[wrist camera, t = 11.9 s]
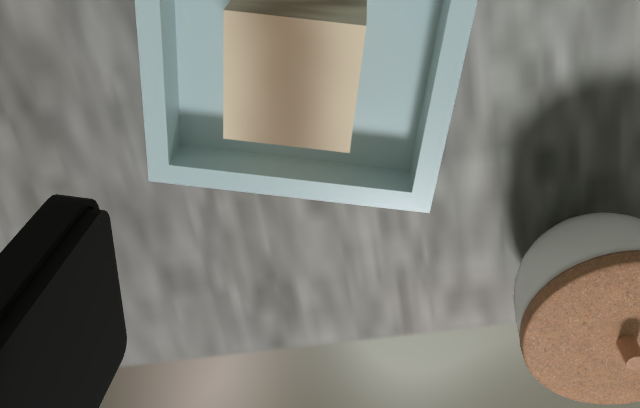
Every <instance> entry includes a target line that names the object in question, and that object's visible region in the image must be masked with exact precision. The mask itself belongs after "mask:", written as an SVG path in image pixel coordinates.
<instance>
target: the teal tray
mask: <svg viewBox="0 0 640 408" xmlns="http://www.w3.org/2000/svg"><path fill="white" fill-rule="evenodd" d="M230 1H231V0H135V10H136V23H137V35H138V48H139V61H140V74H141V87H142V100H143V112H144V125H145V138H146V151H147V164H148V177H149V181H153V182H161V183H170V184H179V185H188V186H196V187H205V188H214V189H223V190H232V191H240V192H249V193H258V194H267V195H275V196H284V197H293V198H302V199H311V200H319V201H328V202H337V203H346V204H354V205H363V206H372V207H381V208H390V209H398V210H407V211H416V212H425V213H430V208H431V204H432V200H433V195H434V191H435V186H436V182H437V177H438V173H439V169H440V164H441V160H442V155H443V151H444V147H445V142H446V138H447V133H448V129H449V124H450V120H451V116H452V111H453V107H454V102H455V98H456V94H457V89H458V85H459V80H460V76H461V72H462V67H463V63H464V58H465V54H466V49H467V45H468V41H469V36H470V32H471V27H472V23H473V19H474V14H475V10H476V5H477V1H478V0H367V24H366V33H365V41H364V48H363V56H362V63H361V71H360V78H359V86H358V93H357V101H356V109H355V116H354V124H353V131H352V139H351V146H350V153H345V152H336V151H327V150H319V149H310V148H301V147H292V146H284V145H275V144H266V143H257V142H249V141H240V140H231V139H223V13H224V9H225V7H226V6H227V5H228V4H229V2H230Z"/></svg>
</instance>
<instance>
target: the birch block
mask: <svg viewBox="0 0 640 408" xmlns="http://www.w3.org/2000/svg"><path fill="white" fill-rule="evenodd" d="M366 24H367V0H231V1H230V2H229V4H228V5H227V6H226V7H225V9H224V13H223V139H231V140H240V141H249V142H257V143H266V144H275V145H284V146H292V147H301V148H310V149H319V150H327V151H336V152H345V153H350V146H351V139H352V131H353V124H354V116H355V109H356V101H357V93H358V86H359V78H360V71H361V63H362V56H363V48H364V41H365V33H366Z"/></svg>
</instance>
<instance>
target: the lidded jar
mask: <svg viewBox="0 0 640 408" xmlns="http://www.w3.org/2000/svg"><path fill="white" fill-rule="evenodd" d="M514 309H515V319H516V324H517V328H518V332H519V337H520V347H521V351H522V354H523V357H524V360H525V363H526V365H527V367H528V368H529V370H530V372H531V374H532V375H533V376H534V377H535V378H536V379H537V380H538V381H539V382H540V383H541V384H543V385H544V386H545V387H547V388H548V389H550V390H551V391H553V392H555V393H558V394H560V395H562V396H564V397H567V398H569V399H572V400H576V401H581V402H586V403H594V404H624V403H633V402H638V401H640V218H637V217H634V216H630V215H625V214H618V213H608V212H605V213H591V214H584V215H580V216H575V217H572V218H569V219H566V220H564V221H562V222H560V223H558V224H556V225H555V226H553V227H552V228H550V229H549V230H547V231H546V232H545V233H543V234H542V235H541V236H540V237H539V238H538V239H537V240H536V241H535V242H534V243H533V244H532V245H531V247H530V248H529V249H528V251H527V252H526V254H525V255H524V257H523V259H522V261H521V263H520V266H519V269H518V272H517V275H516V278H515V285H514Z"/></svg>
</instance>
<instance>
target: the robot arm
mask: <svg viewBox="0 0 640 408" xmlns="http://www.w3.org/2000/svg"><path fill="white" fill-rule="evenodd" d="M126 344H127V334H126V327H125V320H124V313H123V306H122V299H121V292H120V285H119V278H118V271H117V264H116V257H115V250H114V243H113V236H112V229H111V222H110V217H109V214H108V212H107V211H105V210H99V206H98V204H97V202H96V201H95V200H93V199H88V198H81V197H73V196H65V195H58V194H56V195H52V196H51V197H50V198H49V199H47V201H46V202H45V203H44V204H43V205H42V206H41V207H40V209H39V210H38V211H37V212H36V213H35V214H34V215H33V216H32V218H31V219H30V220H29V221H28V222H27V223H26V224H25V226H24V227H23V228H22V229H21V230H20V231H19V232H18V234H17V235H16V236H15V237H14V238H13V239H12V240H11V241H10V243H9V244H8V245H7V246H6V247H5V248H4V249H3V251H2V252H1V253H0V408H99V406H100V404H101V402H102V400H103V398H104V396H105V394H106V392H107V390H108V388H109V385H110V384H111V382H112V380H113V377H114V376H115V373H116V371H117V369H118V367H119V365H120V363H121V361H122V359H123V357H124V353H125V350H126Z"/></svg>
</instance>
